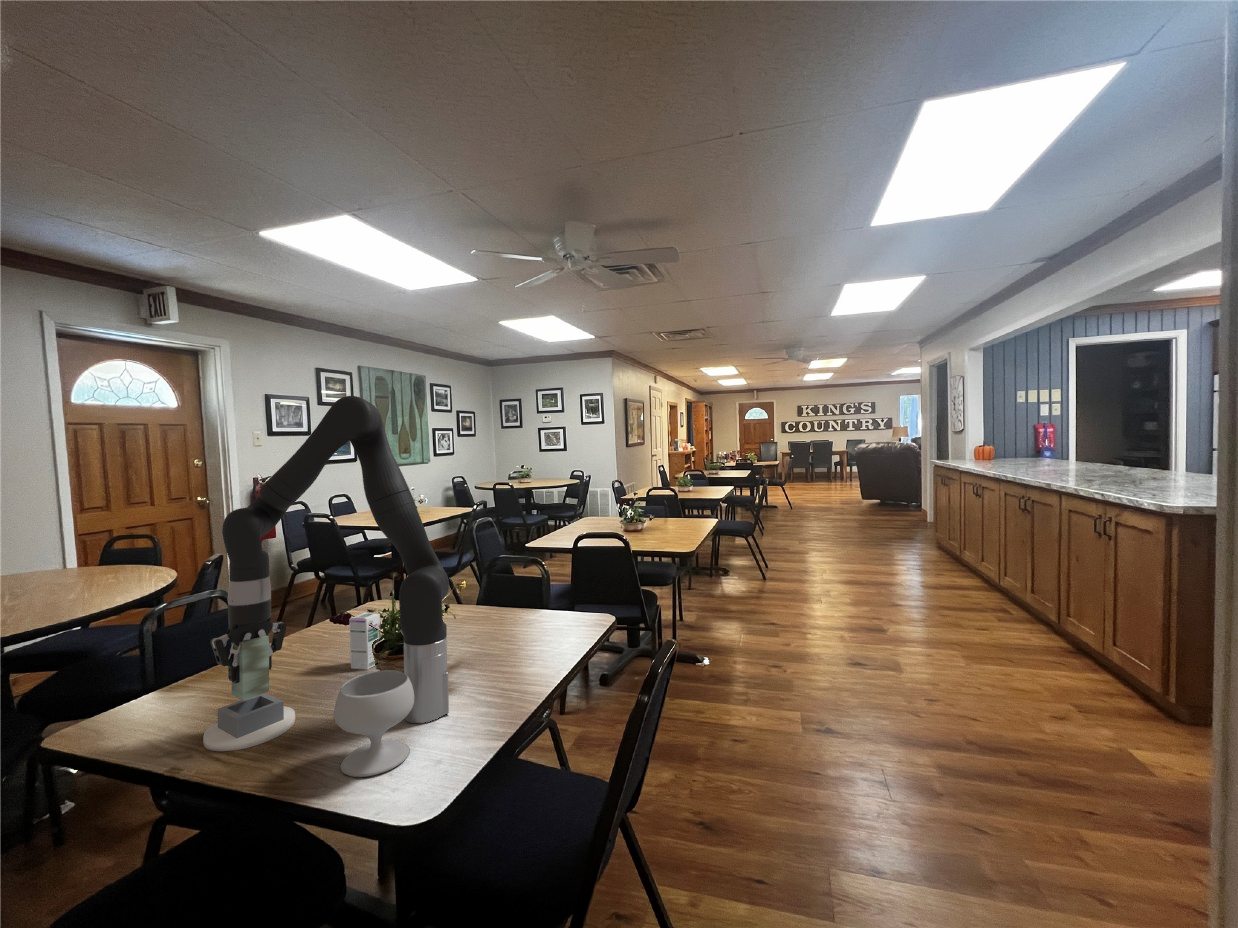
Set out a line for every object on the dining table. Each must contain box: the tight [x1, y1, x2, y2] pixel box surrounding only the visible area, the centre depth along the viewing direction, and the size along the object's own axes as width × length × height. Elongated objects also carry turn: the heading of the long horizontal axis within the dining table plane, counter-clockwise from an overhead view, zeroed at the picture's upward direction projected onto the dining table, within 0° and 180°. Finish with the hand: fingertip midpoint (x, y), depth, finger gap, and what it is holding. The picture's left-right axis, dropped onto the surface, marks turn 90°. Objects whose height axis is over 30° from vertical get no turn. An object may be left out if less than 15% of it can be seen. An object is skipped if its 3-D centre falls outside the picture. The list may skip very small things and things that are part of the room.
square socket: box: [202, 692, 296, 752], centre depth 109 cm, size 16×16×6 cm
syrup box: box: [349, 611, 381, 671], centre depth 144 cm, size 6×6×14 cm
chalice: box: [333, 669, 414, 778], centre depth 97 cm, size 14×14×15 cm
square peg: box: [230, 635, 270, 701], centre depth 109 cm, size 5×5×12 cm
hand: (250, 677), depth 109 cm, fingers closed on square peg, 5 cm apart
